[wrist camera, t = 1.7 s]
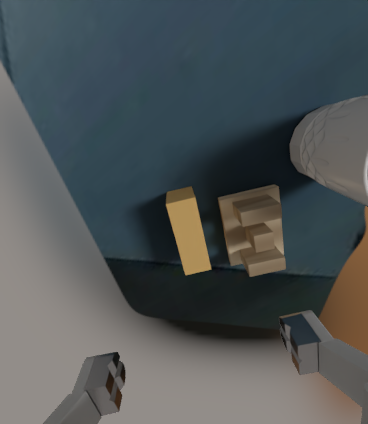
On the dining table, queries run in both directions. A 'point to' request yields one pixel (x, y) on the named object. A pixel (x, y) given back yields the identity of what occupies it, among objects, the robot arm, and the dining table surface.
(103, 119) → the dining table surface
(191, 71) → the dining table surface
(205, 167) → the dining table surface
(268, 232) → the display stand
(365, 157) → the white cup
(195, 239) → the tan rectangular block
